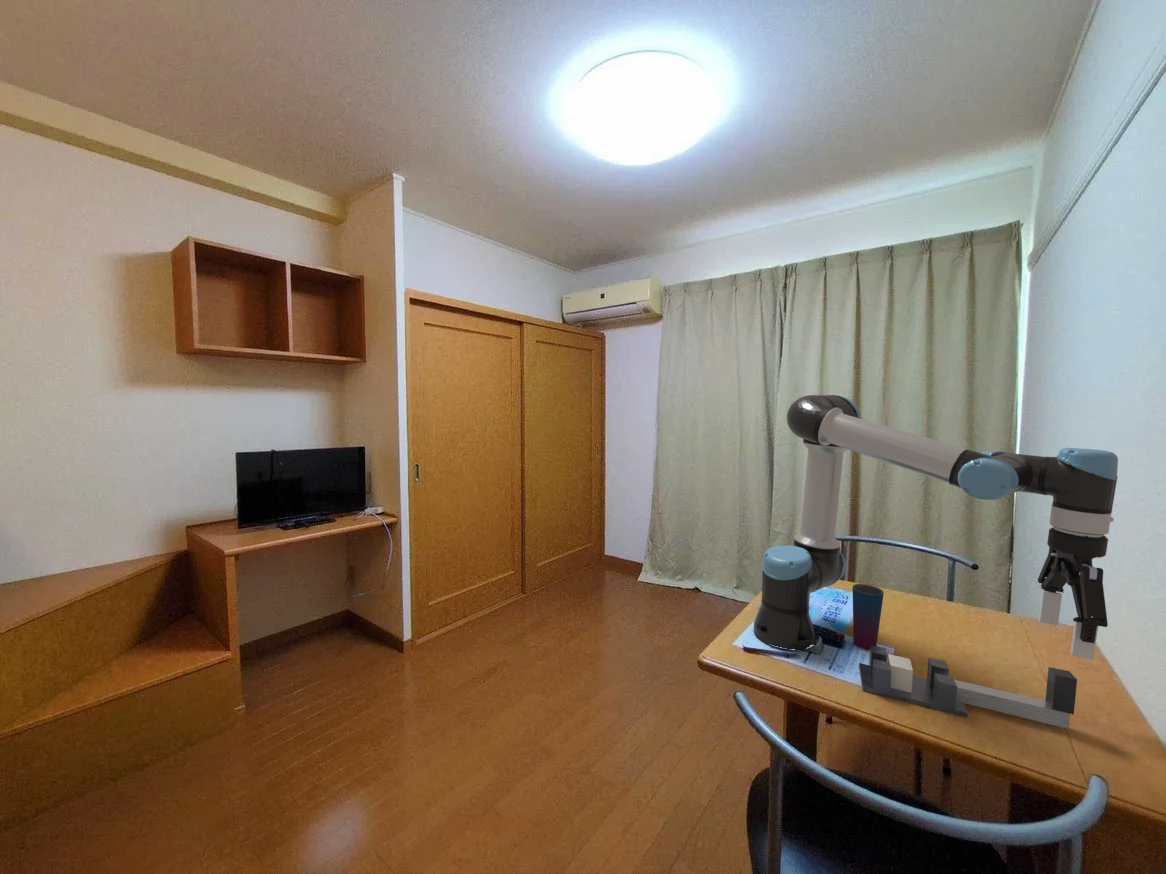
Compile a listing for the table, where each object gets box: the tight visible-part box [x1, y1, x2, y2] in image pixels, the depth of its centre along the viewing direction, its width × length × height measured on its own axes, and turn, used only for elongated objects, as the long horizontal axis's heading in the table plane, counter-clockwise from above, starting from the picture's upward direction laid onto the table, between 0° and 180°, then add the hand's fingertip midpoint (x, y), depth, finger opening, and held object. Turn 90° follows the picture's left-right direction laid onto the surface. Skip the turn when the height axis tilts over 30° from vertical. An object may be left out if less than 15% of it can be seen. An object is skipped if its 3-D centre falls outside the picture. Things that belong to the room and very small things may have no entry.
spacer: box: [887, 653, 914, 693], centre depth 100 cm, size 5×5×4 cm
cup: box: [852, 583, 885, 651], centre depth 117 cm, size 7×7×15 cm
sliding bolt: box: [954, 666, 1078, 729], centre depth 92 cm, size 20×3×10 cm, turn 62°
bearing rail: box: [858, 645, 969, 718], centre depth 99 cm, size 18×10×6 cm, turn 62°
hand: (1063, 638), depth 87 cm, fingers open, 13 cm apart
